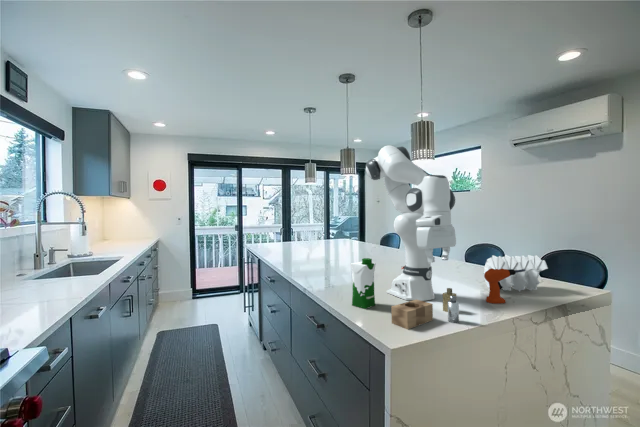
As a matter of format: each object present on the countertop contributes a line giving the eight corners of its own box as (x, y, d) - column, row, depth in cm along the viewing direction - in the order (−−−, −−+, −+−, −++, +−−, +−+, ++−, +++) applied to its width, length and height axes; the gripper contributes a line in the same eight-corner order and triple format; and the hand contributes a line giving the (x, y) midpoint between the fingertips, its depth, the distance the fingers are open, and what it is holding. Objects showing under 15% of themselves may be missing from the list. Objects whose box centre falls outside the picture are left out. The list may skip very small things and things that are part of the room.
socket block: (391, 323, 106) (391, 306, 106) (416, 315, 114) (416, 299, 114) (407, 329, 100) (407, 311, 100) (432, 320, 108) (432, 303, 108)
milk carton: (365, 310, 121) (365, 260, 120) (348, 305, 127) (347, 258, 127) (378, 305, 127) (377, 258, 127) (361, 300, 133) (360, 256, 133)
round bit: (445, 321, 108) (445, 296, 108) (451, 318, 110) (451, 294, 110) (455, 324, 105) (455, 298, 105) (461, 321, 107) (460, 296, 107)
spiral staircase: (483, 297, 150) (530, 293, 151) (502, 290, 134) (556, 285, 135) (472, 261, 158) (517, 258, 159) (489, 251, 142) (540, 247, 143)
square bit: (442, 310, 118) (442, 288, 118) (448, 309, 120) (447, 286, 120) (451, 313, 115) (451, 290, 115) (456, 311, 118) (456, 288, 117)
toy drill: (533, 299, 127) (528, 264, 127) (490, 306, 126) (486, 271, 126) (524, 295, 132) (520, 262, 132) (483, 302, 131) (479, 268, 131)
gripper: (443, 221, 112) (444, 258, 111) (412, 220, 99) (413, 262, 98) (460, 220, 107) (461, 259, 106) (430, 220, 94) (431, 264, 93)
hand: (438, 261), depth 102 cm, fingers open, 8 cm apart
